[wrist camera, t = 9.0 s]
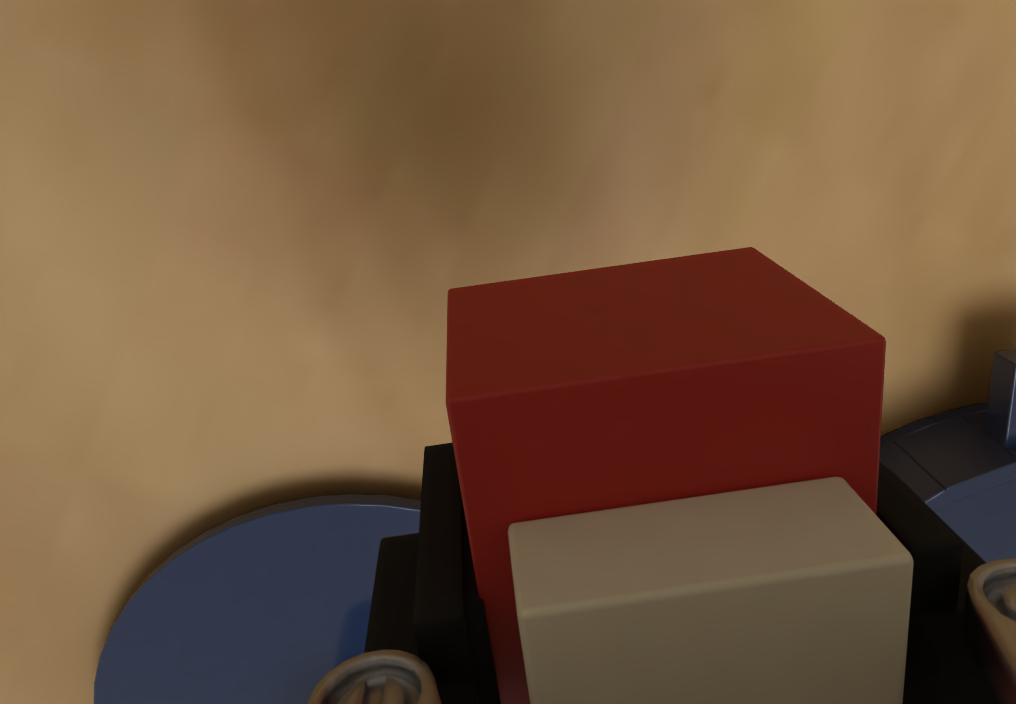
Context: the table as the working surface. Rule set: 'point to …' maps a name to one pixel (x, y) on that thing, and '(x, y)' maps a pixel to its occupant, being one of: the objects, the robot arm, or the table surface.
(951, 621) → the robot arm
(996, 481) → the pot
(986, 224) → the table surface
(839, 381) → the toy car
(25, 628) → the table surface
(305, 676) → the lid
